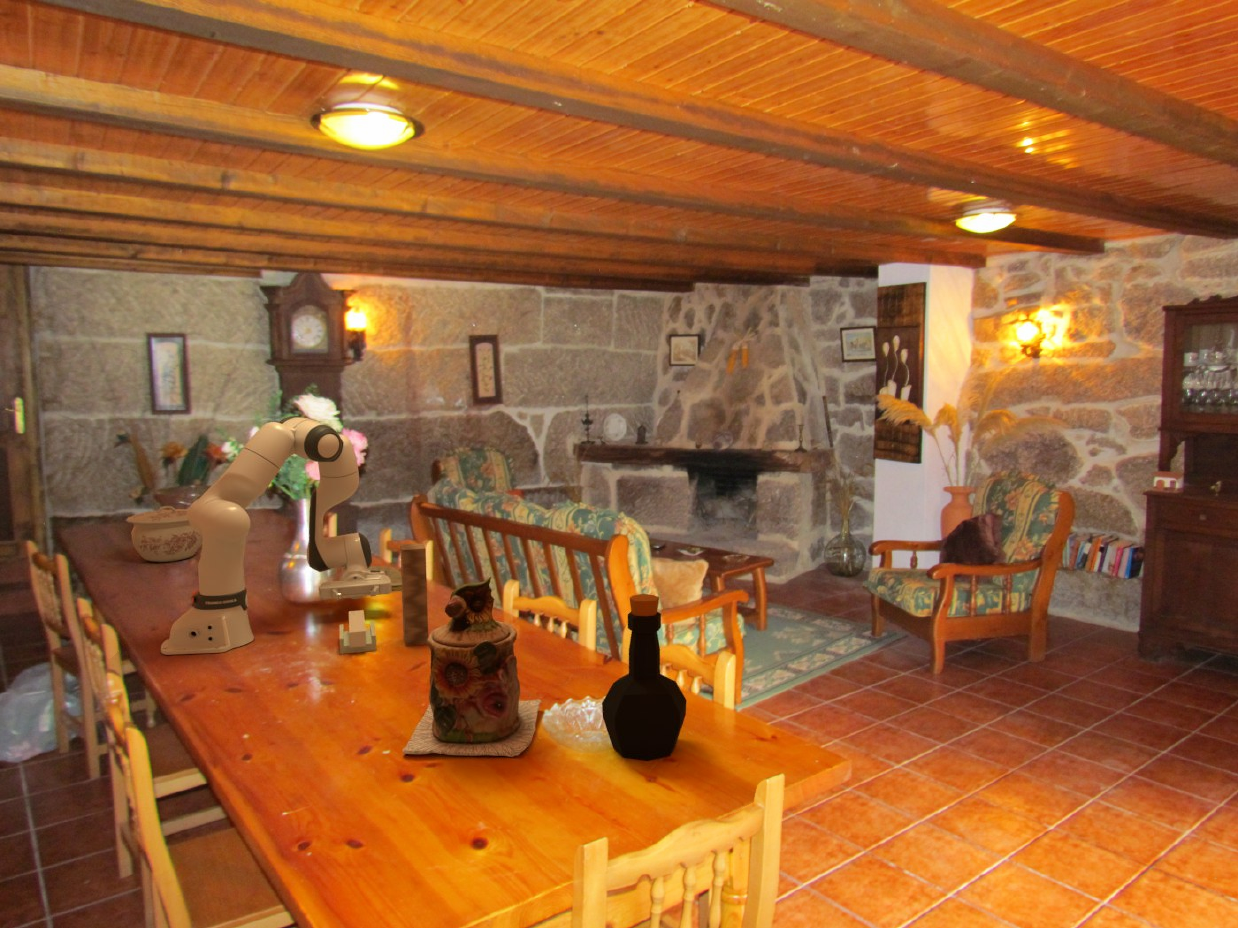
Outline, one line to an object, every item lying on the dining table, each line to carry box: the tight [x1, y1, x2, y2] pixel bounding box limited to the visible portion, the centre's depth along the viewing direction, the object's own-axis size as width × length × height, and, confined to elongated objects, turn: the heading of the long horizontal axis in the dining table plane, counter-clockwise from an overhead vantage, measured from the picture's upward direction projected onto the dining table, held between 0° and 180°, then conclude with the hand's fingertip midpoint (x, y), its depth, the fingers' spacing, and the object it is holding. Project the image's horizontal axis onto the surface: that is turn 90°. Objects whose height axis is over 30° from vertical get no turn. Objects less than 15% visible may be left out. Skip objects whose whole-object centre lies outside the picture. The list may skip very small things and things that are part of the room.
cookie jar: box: [402, 576, 542, 758], centre depth 174 cm, size 25×25×32 cm
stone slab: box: [368, 565, 402, 592], centre depth 298 cm, size 12×4×30 cm
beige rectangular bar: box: [348, 609, 367, 648], centre depth 232 cm, size 4×20×4 cm, turn 18°
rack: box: [339, 621, 377, 655], centre depth 231 cm, size 9×13×4 cm
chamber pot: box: [125, 505, 202, 564], centre depth 333 cm, size 28×28×21 cm
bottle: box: [601, 593, 687, 762], centre depth 167 cm, size 16×16×30 cm
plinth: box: [400, 543, 429, 647], centre depth 232 cm, size 6×7×26 cm
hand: (356, 595), depth 246 cm, fingers open, 8 cm apart
